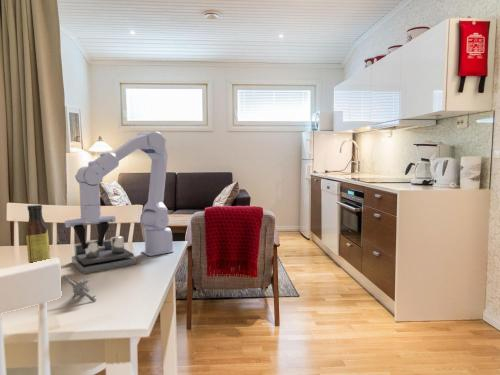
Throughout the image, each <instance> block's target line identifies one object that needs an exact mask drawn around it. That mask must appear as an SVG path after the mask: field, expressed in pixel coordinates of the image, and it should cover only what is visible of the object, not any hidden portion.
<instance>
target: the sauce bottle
mask: <svg viewBox="0 0 500 375" xmlns="http://www.w3.org/2000/svg"><path fill="white" fill-rule="evenodd" d="M26 207H27V211H28V221H27V223H26V225H25V231H26V232H25V233H26V234H25V236H26V237H25V238H26V247H27V248H26V249H27V260H28V264H29V263H33V262H37V261H42V260H46V259H50V260H51V251H50V249H51V248H50V239H49V238H50V237H49V229H48V226H47V223H46V222H45V220H44V217H43V211H42V210H43V205H42V204H38V203H37V204H29V205H27V206H26Z"/></svg>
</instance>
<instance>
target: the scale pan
mask: <svg viewBox="0 0 500 375" xmlns="http://www.w3.org/2000/svg"><path fill="white" fill-rule="evenodd" d="M124 250H125V252H123V253H118V254H112V250H108V251H101V252H99V254H100V256H99V257H98V258H93V259H87V258H86V254H82V255H77V258H78V259H79V260H80V261H81V262H82V263H83V264H84V265H86V264H92V263H97V262H103V261H109V260H115V259H120V258H126V257H132V256H133V257H134V253H133V252H131V251H129V250H128V249H126V248H124Z"/></svg>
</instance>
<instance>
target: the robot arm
mask: <svg viewBox="0 0 500 375" xmlns="http://www.w3.org/2000/svg"><path fill="white" fill-rule="evenodd" d="M166 143H167V139H166V138H165V136H164V135H163V134H162V133H161V132H160V131H156V130H154V131H148V132H138V133H137V134H136V135H134V136H132V137H131V138H129V139H128V140H127V141H125V143H123V144H122V145H120V146H119V147H118V148H117V149H115V150H114V151H113V152H110V151H109V152H108V151H107V152H101V153H100V154H99V156H98V157H97V158H96V159H95V160H93V161H89V162H88V163H87V164H88V165H87V166H81V167H79V168H78V169H77V172H76V175H74V177H75V180H76V182H77V183H78V185H79V203H80V218H75V219H68V220H67V219H66V220H64V227H65V228H66V229H67V228H71V227H72V228H73V230H74V231H75V233H76V235H77V237H78V240H79V242H80V244H81V246H82V249H86V244H85V242H86V238H85V237H86V228H85V226H88V225H89V226H90V225H96V227H97V237H98V239H97V240H99V246H100V247H101V246H103V240H105V236H106V233H107V231H108V230H109V228H110V224H109V223H116V221H117V220H116V215H107V216H104V215H103V216H102V215H101V194H100V193H101V190H100V189H101V188H100V184H101V183H102V181H103V179H104V177H105V176H107V175H108V174H109V173H111V172H112V171H114V170H115V169H116V168H118V167H119V164H120V161H121V160H122V159H125V158H126V157H127V156H129V155H130V154H132V153H134V152H135V151H136V150H140V151H141V152H143V153H144V154H146V155H147V156H148V157H149V158H150V159H151V166H150V175H149V188H148V195H147V196H148V197H147V202H146V203H145V205H144V206H143V211H142V212H141V214H140V218H139V219H140V220H139V221H140V223H141V225H142V226H143V229H144V249H143V250H141V252H140V253H143V254H145V255H146V256H148V257H152V256H158V255H163V254H169V253H173V252H174V250H173V248H174V247H173V233H172V230H171V228H170V227H167V226H168V224H169V222H170V221H169V220H170V219H169V214H168V210H169V209H168V208H167V206H166V205H165V203H164V199H165V187H166V179H167V178H166V177H167V165H168V152H167V148H166Z"/></svg>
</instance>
